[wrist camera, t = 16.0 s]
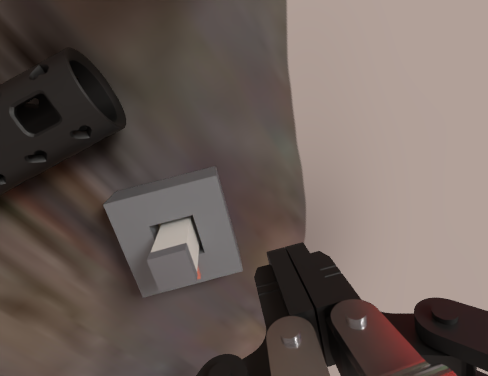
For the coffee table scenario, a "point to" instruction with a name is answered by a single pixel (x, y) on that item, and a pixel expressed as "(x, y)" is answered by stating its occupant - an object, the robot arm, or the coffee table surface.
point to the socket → (171, 208)
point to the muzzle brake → (53, 115)
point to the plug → (175, 254)
